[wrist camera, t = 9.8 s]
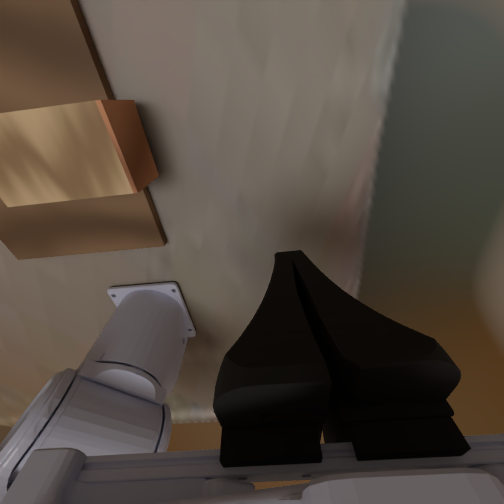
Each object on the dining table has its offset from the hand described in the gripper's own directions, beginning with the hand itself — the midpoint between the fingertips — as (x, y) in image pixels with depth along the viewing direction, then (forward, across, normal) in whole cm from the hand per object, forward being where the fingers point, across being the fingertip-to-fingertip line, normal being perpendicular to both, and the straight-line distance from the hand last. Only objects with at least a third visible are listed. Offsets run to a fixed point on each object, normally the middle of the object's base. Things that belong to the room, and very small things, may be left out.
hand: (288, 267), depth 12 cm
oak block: (+7, +9, -6) cm, 13 cm away
